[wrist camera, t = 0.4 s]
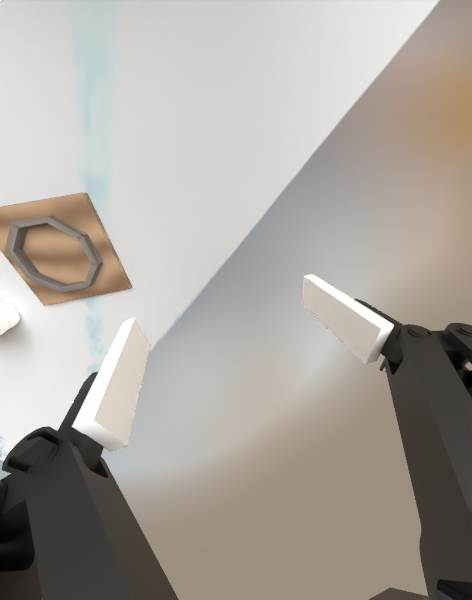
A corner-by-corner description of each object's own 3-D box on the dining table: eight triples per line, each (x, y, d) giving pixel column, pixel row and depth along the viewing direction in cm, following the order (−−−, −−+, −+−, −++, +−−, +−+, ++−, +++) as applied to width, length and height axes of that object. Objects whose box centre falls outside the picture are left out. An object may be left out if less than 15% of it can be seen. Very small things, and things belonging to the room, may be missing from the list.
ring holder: (-21, 212, 29) (-44, 211, 27) (87, 193, 30) (75, 191, 28) (48, 303, 38) (36, 309, 35) (131, 286, 39) (126, 291, 36)
